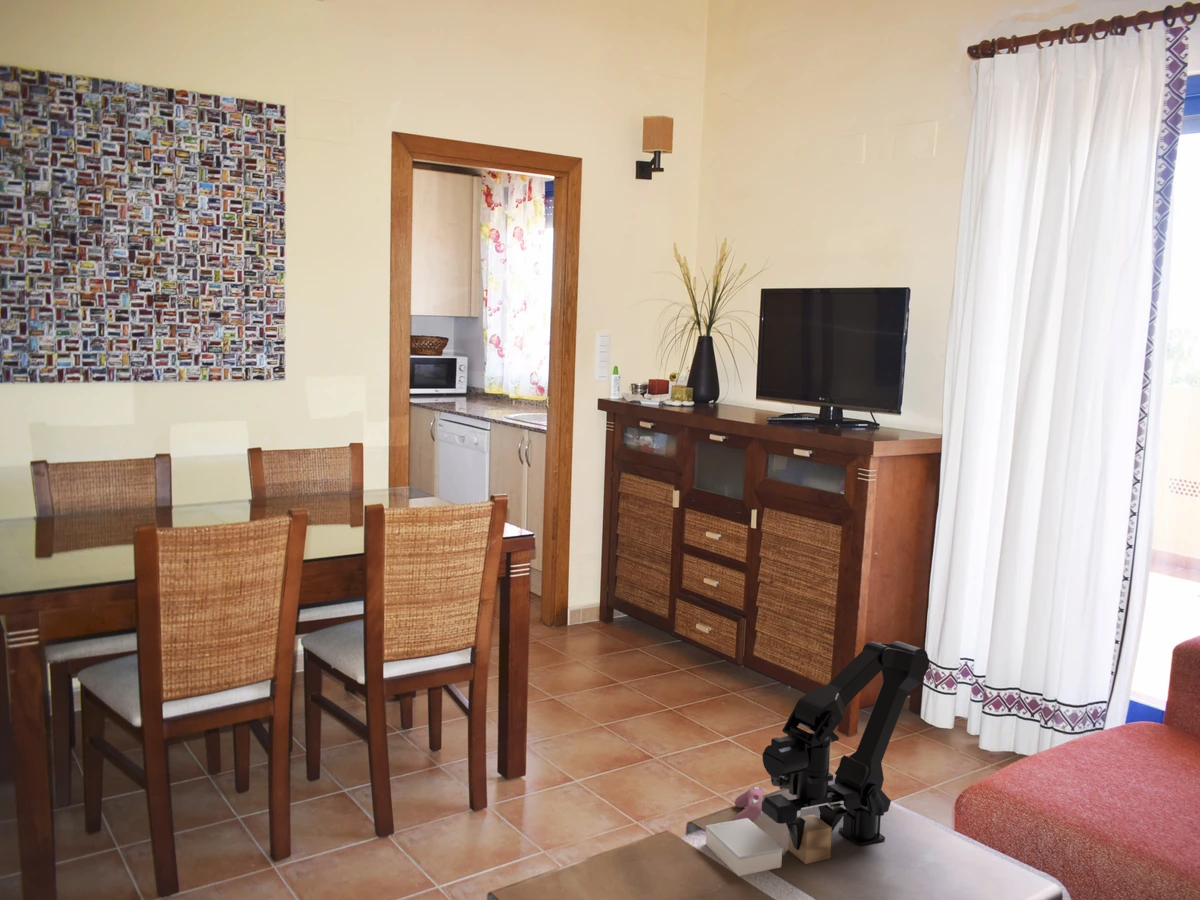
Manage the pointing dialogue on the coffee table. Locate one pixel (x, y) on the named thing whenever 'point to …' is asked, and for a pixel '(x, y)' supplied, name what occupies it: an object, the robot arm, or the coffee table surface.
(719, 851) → the white rectangular box
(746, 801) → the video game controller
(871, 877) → the coffee table surface
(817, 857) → the walnut block
